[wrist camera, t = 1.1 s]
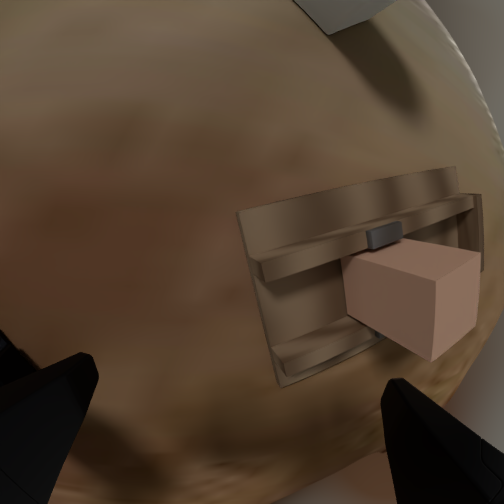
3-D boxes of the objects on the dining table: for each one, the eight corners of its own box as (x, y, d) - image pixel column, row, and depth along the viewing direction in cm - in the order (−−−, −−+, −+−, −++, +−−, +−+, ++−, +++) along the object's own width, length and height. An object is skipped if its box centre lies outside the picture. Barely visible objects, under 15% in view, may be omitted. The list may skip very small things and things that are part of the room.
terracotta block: (347, 313, 21) (430, 362, 13) (339, 252, 20) (435, 281, 12) (392, 292, 23) (475, 325, 14) (388, 235, 21) (480, 252, 13)
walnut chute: (277, 382, 22) (296, 410, 18) (235, 211, 19) (252, 213, 15) (458, 287, 28) (482, 294, 24) (450, 166, 24) (478, 165, 21)
